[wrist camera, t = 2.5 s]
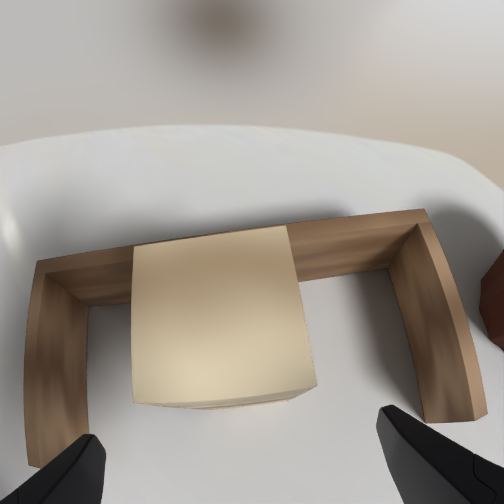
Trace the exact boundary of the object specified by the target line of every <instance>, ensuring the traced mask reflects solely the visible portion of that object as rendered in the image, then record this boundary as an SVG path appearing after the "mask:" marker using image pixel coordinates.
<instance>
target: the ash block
mask: <svg viewBox="0 0 504 504" xmlns="http://www.w3.org/2000/svg"><path fill="white" fill-rule="evenodd" d="M131 365H132V388H133V403H138V404H146V405H155V406H164V407H175V408H189V409H206V410H212V409H224V408H235V407H244V406H253V405H261V404H268V403H275V402H282V401H288V400H290V399H292V398H294V397H296V396H298V395H300V394H302V393H304V392H306V391H308V390H310V389H312V388H314V387H316V386H317V381H316V375H315V369H314V364H313V358H312V353H311V347H310V342H309V336H308V331H307V326H306V320H305V315H304V310H303V305H302V300H301V295H300V290H299V285H298V280H297V275H296V270H295V266H294V261H293V256H292V251H291V247H290V242H289V238H288V233H287V228H286V226H278V227H270V228H262V229H254V230H247V231H239V232H232V233H225V234H217V235H210V236H203V237H196V238H189V239H182V240H175V241H168V242H161V243H154V244H148V245H141V246H134V256H133V273H132V298H131Z"/></svg>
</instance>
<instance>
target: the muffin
mask: <svg viewBox="0 0 504 504" xmlns="http://www.w3.org/2000/svg"><path fill="white" fill-rule="evenodd" d="M479 311H480V313H481V316H482V318H483V320H484V322H485V324H486V328H487V331H488V335H489V339H490V341H492V342H493V343H495V344H496V345H497V346H499V347H500V348H501V349H502V350H503V351H504V250H503V251H502V253H501V254H500V256H499V257H498V258H497V260H496V261H495V263H494V264H493V265H492V267H491V268H490V269H489V271H488V272H487V273H486V274H485V276H484V277H483V278H482V280H481V299H480V306H479Z"/></svg>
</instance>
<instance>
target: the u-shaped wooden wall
mask: <svg viewBox="0 0 504 504" xmlns="http://www.w3.org/2000/svg"><path fill="white" fill-rule="evenodd" d="M278 226H286V228H287V233H288V238H289V242H290V247H291V251H292V256H293V261H294V266H295V270H296V275H297V280H298V282H302V281H309V280H315V279H322V278H328V277H335V276H341V275H347V274H353V273H359V272H365V271H371V270H377V269H383V268H388V271H389V274H390V277H391V280H392V284H393V287H394V290H395V293H396V297H397V300H398V304H399V307H400V311H401V314H402V318H403V321H404V325H405V329H406V333H407V337H408V341H409V345H410V349H411V353H412V357H413V362H414V366H415V371H416V375H417V380H418V385H419V390H420V396H421V401H422V407H423V412H424V419H425V423H452V422H468V421H476V420H477V419H479V418H481V417H483V416H485V415H487V414H488V412H487V406H486V399H485V394H484V388H483V383H482V378H481V373H480V368H479V364H478V359H477V355H476V351H475V347H474V343H473V339H472V336H471V332H470V328H469V325H468V321H467V318H466V315H465V311H464V308H463V305H462V302H461V299H460V296H459V293H458V290H457V287H456V284H455V281H454V279H453V276H452V273H451V270H450V268H449V265H448V262H447V260H446V257H445V255H444V252H443V250H442V247H441V245H440V243H439V240H438V238H437V235H436V233H435V231H434V229H433V226H432V224H431V222H430V220H429V217H428V215H427V213H426V211H425V209H414V210H404V211H394V212H385V213H375V214H366V215H357V216H348V217H339V218H331V219H322V220H314V221H305V222H297V223H289V224H281V225H273V226H265V227H258V228H250V229H242V230H235V231H227V232H220V233H213V234H206V235H198V236H191V237H184V238H177V239H170V240H164V241H157V242H150V243H143V244H137V245H130V246H124V247H117V248H111V249H105V250H98V251H92V252H86V253H80V254H74V255H68V256H62V257H56V258H50V259H44V260H39V261H37V263H36V268H35V274H34V279H33V285H32V291H31V298H30V305H29V312H28V321H27V331H26V342H25V358H24V421H25V436H26V447H27V456H28V464H29V465H30V466H33V467H37V468H40V469H42V468H43V467H44V466H45V465H46V464H48V463H49V462H50V461H51V460H53V459H54V458H55V457H56V456H57V455H59V454H60V453H61V452H62V451H63V450H65V449H66V448H67V447H68V446H69V445H71V444H72V443H73V442H74V441H75V440H77V439H78V438H79V437H80V436H81V435H83V434H89V425H88V410H87V381H86V355H87V325H88V309H89V307H90V306H101V305H112V304H122V303H131V298H132V273H133V256H134V246H141V245H148V244H154V243H161V242H168V241H175V240H182V239H189V238H196V237H203V236H210V235H217V234H225V233H232V232H239V231H247V230H254V229H262V228H270V227H278Z"/></svg>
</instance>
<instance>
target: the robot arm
mask: <svg viewBox="0 0 504 504" xmlns="http://www.w3.org/2000/svg"><path fill="white" fill-rule="evenodd" d="M376 429H377V433H378V436H379V439H380V442H381V446H382V449H383V452H384V455H385V459H386V462H387V465H388V468H389V471H390V473H391V475H392V478H393V480H394V482H395V484H396V486H397V489H398V491H399V493H400V495H401V498H402V500H403V502H404V504H504V468H503V467H501V466H499V465H496V464H494V463H492V462H490V461H488V460H486V459H484V458H482V457H480V456H479V455H477V454H473V452H471V451H470V450H468V449H466V448H464V447H463V446H461V445H459V444H457V443H456V442H454V441H452V440H450V439H449V438H447V437H445V436H444V435H442V434H440V433H439V432H437V431H435V430H433V429H432V428H430V427H428V426H427V425H425V424H424V423H422V422H420V421H419V420H417V419H415V418H414V417H412V416H410V415H409V414H407V413H406V412H404V411H402V410H401V409H399V408H398V407H396V406H394V405H388V406H384V407H381V408H380V410H379V413H378V419H377V423H376ZM105 462H106V451H105V449H104V447H103V446H102V444H101V443H100V441H99V439H98V438H97V437H96V436H95V435H94V434H83V435H81V436H80V437H79V438H78V439H77V440H75V441H74V442H73V443H72V444H71V445H69V446H68V447H67V448H66V449H65V450H63V451H62V452H61V453H60V454H59V455H57V456H56V457H55V458H54V459H53V460H51V461H50V462H49V463H48V464H46V465H45V466H44V467H43V468H42V469H40V470H39V471H38V472H37V473H35V474H34V475H33V476H32V477H31V478H29V479H28V480H27V481H26V482H24V483H23V484H22V485H21V486H19V487H18V488H17V489H15V490H14V491H13V492H12V493H10V494H9V495H8V496H6V497H5V498H4V499H2V500H1V501H0V504H101V499H102V493H103V485H104V473H105Z"/></svg>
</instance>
